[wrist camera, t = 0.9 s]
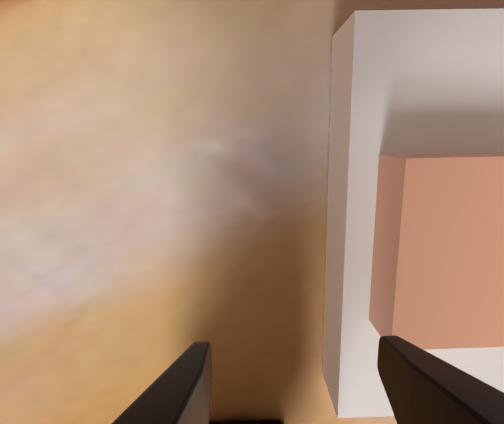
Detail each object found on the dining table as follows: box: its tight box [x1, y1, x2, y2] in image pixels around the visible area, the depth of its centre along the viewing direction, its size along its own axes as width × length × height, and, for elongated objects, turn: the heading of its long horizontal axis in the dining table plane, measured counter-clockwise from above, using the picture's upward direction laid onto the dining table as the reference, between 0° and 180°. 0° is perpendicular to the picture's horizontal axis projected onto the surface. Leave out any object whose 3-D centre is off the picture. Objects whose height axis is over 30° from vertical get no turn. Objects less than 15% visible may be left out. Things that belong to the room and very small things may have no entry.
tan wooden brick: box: [369, 152, 504, 350], centre depth 16 cm, size 9×7×3 cm
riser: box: [322, 8, 504, 418], centre depth 19 cm, size 22×14×4 cm, turn 1°
